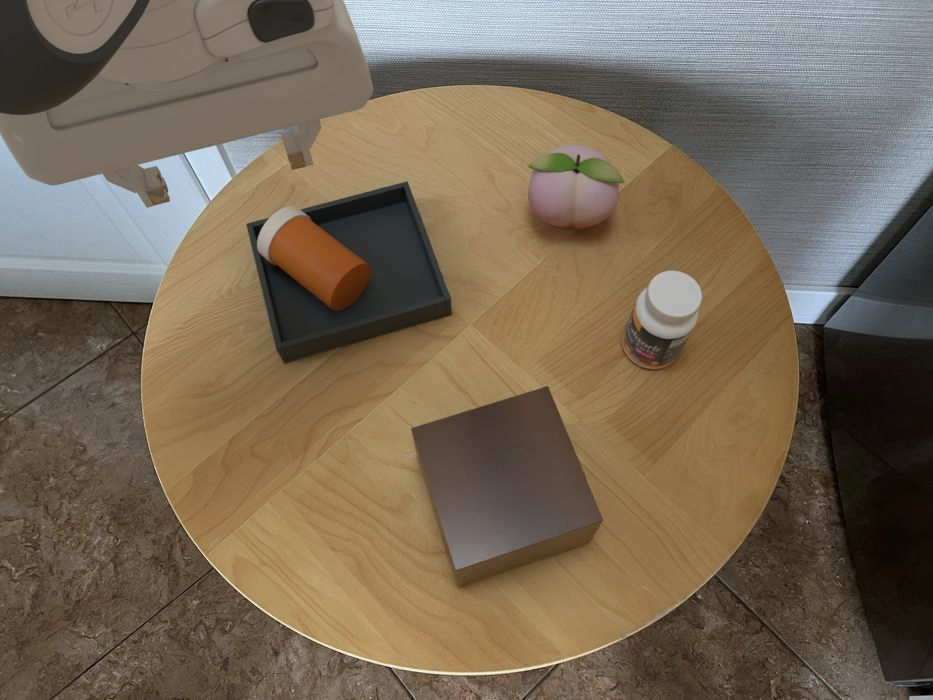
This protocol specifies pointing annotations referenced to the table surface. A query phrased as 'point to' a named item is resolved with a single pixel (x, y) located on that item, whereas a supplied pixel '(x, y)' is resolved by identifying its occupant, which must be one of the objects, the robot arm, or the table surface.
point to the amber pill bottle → (313, 258)
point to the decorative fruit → (573, 187)
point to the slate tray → (390, 286)
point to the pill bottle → (662, 320)
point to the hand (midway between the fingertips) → (230, 178)
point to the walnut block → (505, 486)
